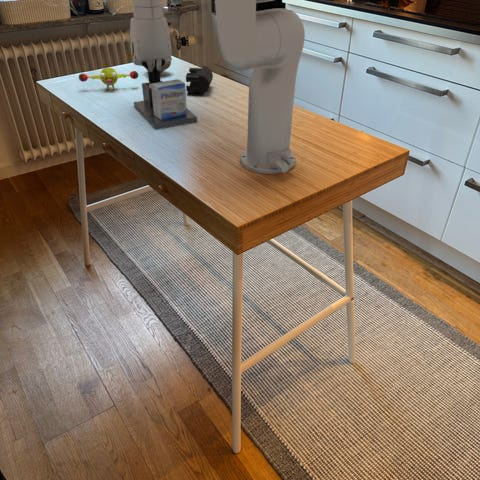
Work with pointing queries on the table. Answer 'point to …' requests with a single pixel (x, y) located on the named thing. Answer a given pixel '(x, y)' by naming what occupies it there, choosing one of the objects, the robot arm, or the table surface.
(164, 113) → the medicine box
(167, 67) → the natural sponge
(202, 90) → the end cap
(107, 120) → the table surface
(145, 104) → the grey stand
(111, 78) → the toy figure
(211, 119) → the table surface
